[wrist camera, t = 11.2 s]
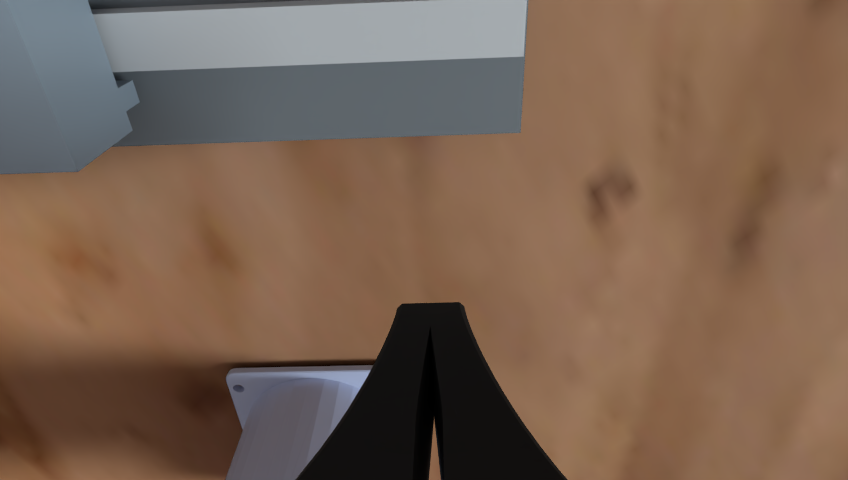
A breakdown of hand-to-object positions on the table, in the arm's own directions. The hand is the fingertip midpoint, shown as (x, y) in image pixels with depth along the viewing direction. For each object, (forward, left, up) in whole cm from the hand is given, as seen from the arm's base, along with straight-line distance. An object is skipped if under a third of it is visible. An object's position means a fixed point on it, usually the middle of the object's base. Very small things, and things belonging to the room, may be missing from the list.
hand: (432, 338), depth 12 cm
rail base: (+5, +7, -9) cm, 13 cm away
